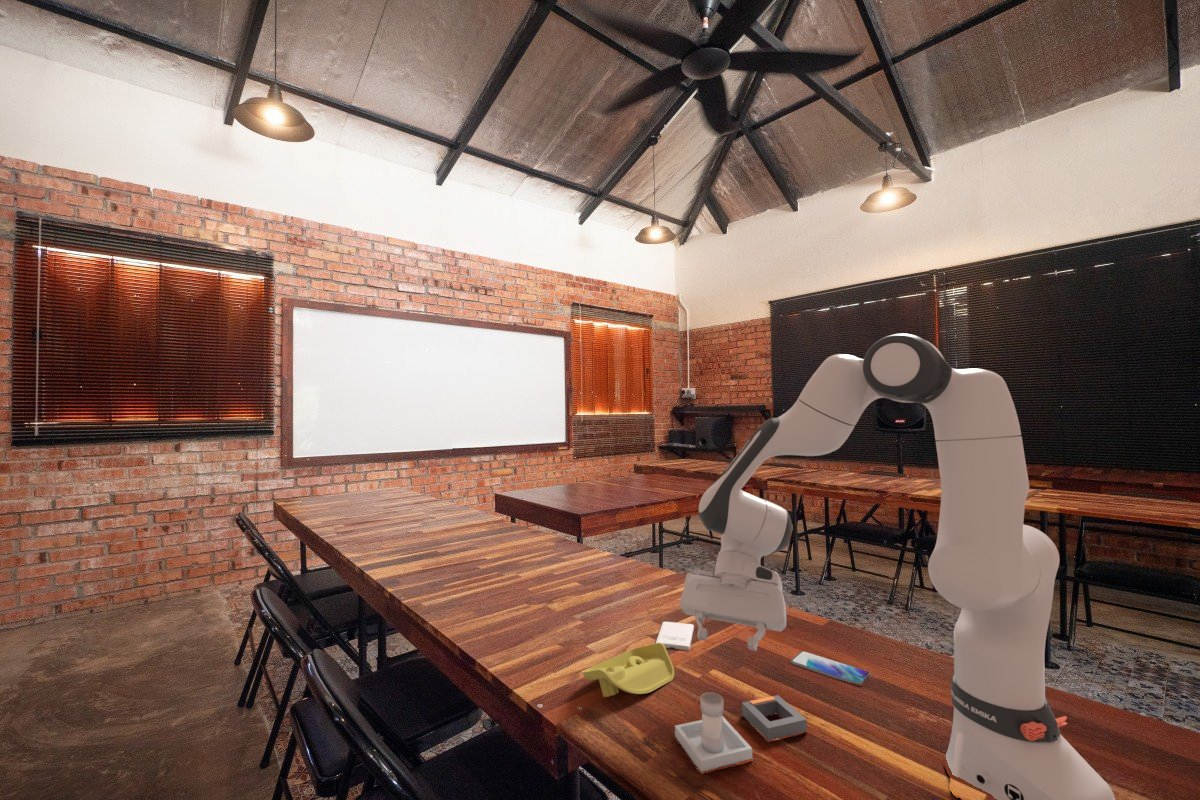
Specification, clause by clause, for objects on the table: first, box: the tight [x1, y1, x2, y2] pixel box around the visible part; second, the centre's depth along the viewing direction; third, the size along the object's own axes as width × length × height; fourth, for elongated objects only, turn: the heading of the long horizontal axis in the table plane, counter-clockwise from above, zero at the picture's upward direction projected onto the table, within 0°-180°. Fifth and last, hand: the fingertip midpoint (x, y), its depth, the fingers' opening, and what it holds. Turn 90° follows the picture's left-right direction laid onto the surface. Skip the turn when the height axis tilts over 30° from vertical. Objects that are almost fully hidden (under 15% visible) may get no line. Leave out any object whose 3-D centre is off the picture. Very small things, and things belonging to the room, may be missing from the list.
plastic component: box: [581, 642, 675, 698], centre depth 107 cm, size 20×7×10 cm
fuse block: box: [741, 695, 808, 740], centre depth 93 cm, size 8×8×3 cm
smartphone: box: [790, 650, 871, 684], centre depth 113 cm, size 7×1×15 cm
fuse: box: [700, 691, 725, 754], centre depth 87 cm, size 4×4×8 cm
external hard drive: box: [655, 621, 695, 651], centre depth 129 cm, size 2×8×12 cm
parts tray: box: [674, 715, 753, 772], centre depth 87 cm, size 9×9×2 cm
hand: (726, 643), depth 96 cm, fingers open, 8 cm apart
